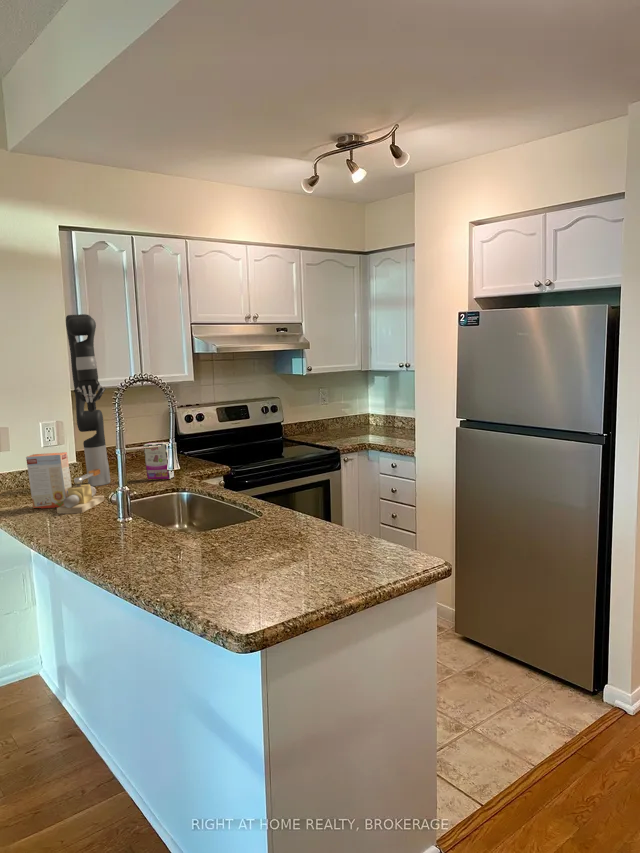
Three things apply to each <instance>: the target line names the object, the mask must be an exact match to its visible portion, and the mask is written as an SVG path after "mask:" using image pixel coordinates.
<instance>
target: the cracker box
mask: <svg viewBox="0 0 640 853" xmlns="http://www.w3.org/2000/svg"><path fill="white" fill-rule="evenodd" d="M25 458H26V459H25V460H26V466H27V474H28V480H29V488H30V494H31V496H30V497H31V501H32V502H31V503H32V508H41V509H55V507H57V508H58V507H60V506H62V505H64V499H65V498H67V497H68V488H70V487H73V486H72V478H71V472H70V464H69V459H68V458H69V457H68V452H66V451H64V452H47V453H36V454H34V453H33V454H30V455H29V456H26V457H25ZM57 508H56V509H57Z"/></svg>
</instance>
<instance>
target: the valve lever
mask: <svg viewBox="0 0 640 853" xmlns="http://www.w3.org/2000/svg"><path fill="white" fill-rule="evenodd" d="M98 474H100V469H94V470H91V471H89V473H88V474H87V473H86V474H83V475H81V476H79V477H78V476H77V477H74V479H73V481H74V485H77V484H81V485H82V484H83V481H84V480H86V479H88V478H89V477H91V476H96V475H98Z"/></svg>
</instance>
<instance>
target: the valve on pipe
mask: <svg viewBox="0 0 640 853" xmlns="http://www.w3.org/2000/svg"><path fill="white" fill-rule="evenodd" d="M96 494H97V489H96V488H95V486H90V484H88V483H87V484H82V483H81V484H74V485H73V486H72V487H70V488H68V497H67V498H65V499H64V505H62V506H60V507H58V508H56V512H57V513H59V514H78V513H80V514H83V513H84V512H86V511H88V510H91V509H92V508H94V507H96V506H97V505H99V504H101V503H103V502H104V501H105V496H104V495H96Z"/></svg>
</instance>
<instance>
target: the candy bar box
mask: <svg viewBox="0 0 640 853" xmlns="http://www.w3.org/2000/svg"><path fill="white" fill-rule="evenodd" d="M169 442H170V441H168V442H167V441H166V442H164V441H163V442H162V441H161V442H148V443H145V444H143V453H144V460H145V461H144V462H145V469H146V470H145V471H146V478H148V479H170V480H172V479H174V478H175V473H174V472H175V471H172V472H171V471H168V470H167V463H168V443H169ZM158 445H161V447H158V448H153V449H144V447H149V446H158ZM173 477H174V478H173ZM171 478H172V479H171ZM148 479H147V480H148Z"/></svg>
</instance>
